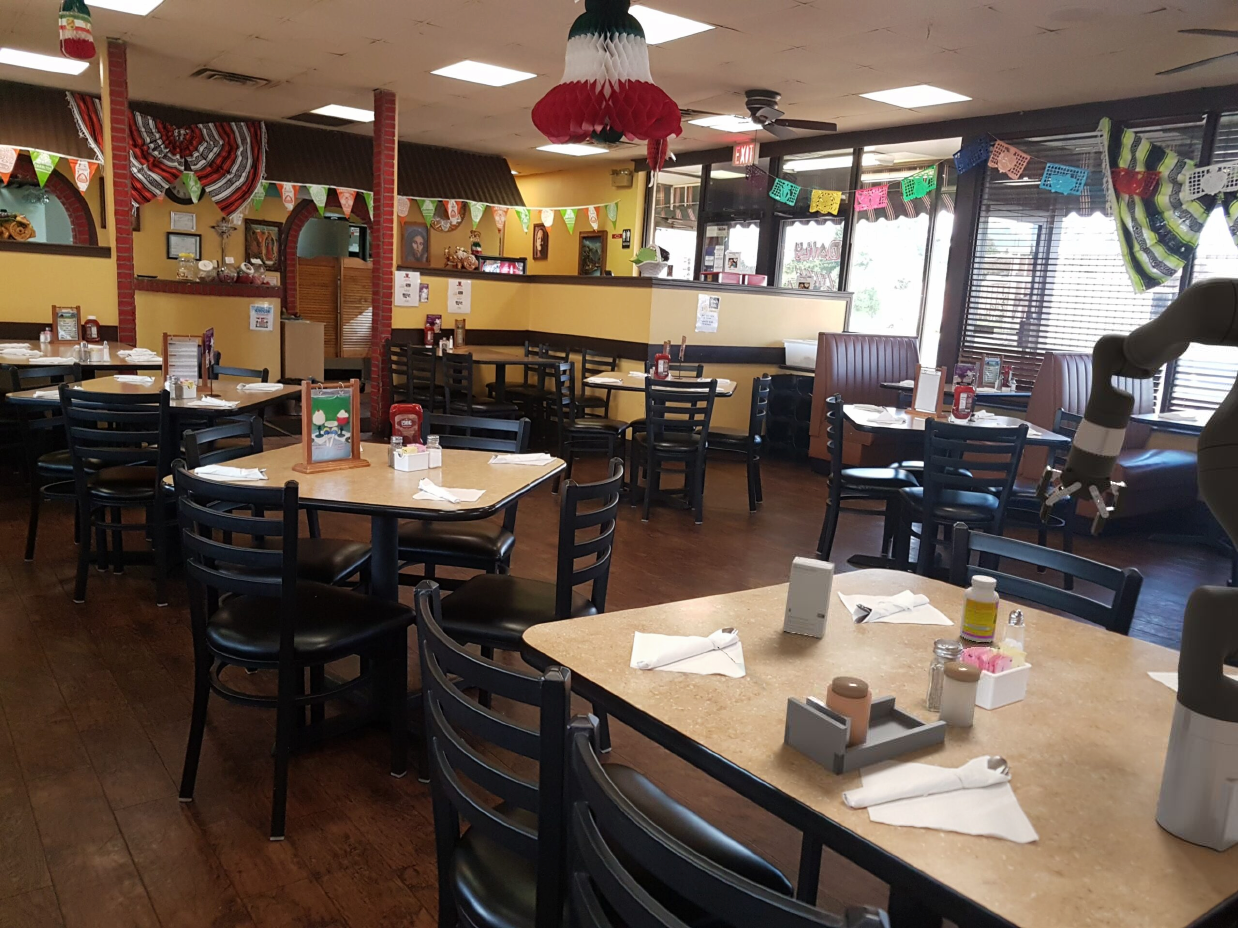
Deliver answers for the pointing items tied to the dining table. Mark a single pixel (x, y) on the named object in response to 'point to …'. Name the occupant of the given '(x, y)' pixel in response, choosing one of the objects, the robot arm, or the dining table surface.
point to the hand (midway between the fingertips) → (1068, 527)
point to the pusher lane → (885, 738)
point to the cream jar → (959, 693)
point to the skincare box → (808, 596)
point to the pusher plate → (831, 714)
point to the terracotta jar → (852, 705)
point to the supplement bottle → (980, 610)
